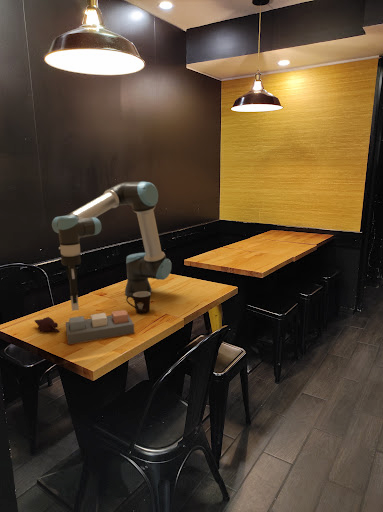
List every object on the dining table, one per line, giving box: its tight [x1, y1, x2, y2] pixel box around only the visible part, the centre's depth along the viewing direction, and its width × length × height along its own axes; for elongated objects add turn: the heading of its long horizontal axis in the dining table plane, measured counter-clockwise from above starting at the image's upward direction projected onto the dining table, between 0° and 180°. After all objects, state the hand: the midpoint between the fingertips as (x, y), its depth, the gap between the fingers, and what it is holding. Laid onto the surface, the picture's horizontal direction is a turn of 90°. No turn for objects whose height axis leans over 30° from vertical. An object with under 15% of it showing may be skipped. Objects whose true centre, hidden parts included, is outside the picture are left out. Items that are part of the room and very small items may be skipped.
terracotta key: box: [111, 309, 129, 324], centre depth 161 cm, size 6×6×4 cm
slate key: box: [68, 315, 86, 331], centre depth 155 cm, size 6×6×4 cm
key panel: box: [65, 314, 135, 345], centre depth 159 cm, size 27×14×5 cm, turn 111°
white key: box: [90, 312, 107, 327], centre depth 158 cm, size 6×6×4 cm
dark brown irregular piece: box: [33, 316, 60, 334], centre depth 162 cm, size 7×7×15 cm
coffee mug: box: [125, 291, 152, 315], centre depth 182 cm, size 12×9×10 cm
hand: (75, 309), depth 153 cm, fingers closed
